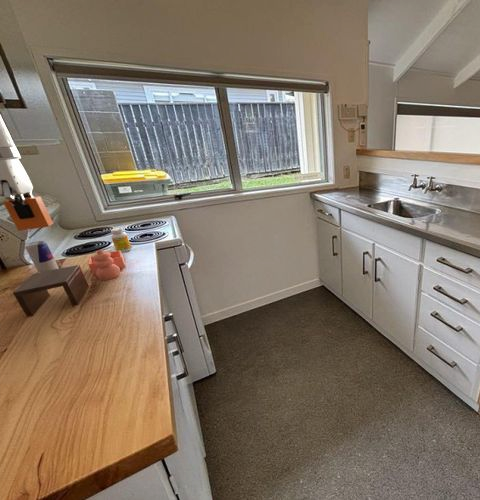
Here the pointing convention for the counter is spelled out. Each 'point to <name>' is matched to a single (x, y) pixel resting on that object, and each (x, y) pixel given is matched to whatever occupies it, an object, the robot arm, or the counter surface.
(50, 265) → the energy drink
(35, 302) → the shelf
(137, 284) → the counter surface
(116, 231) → the supplement bottle
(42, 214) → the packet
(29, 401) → the counter surface
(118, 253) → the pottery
